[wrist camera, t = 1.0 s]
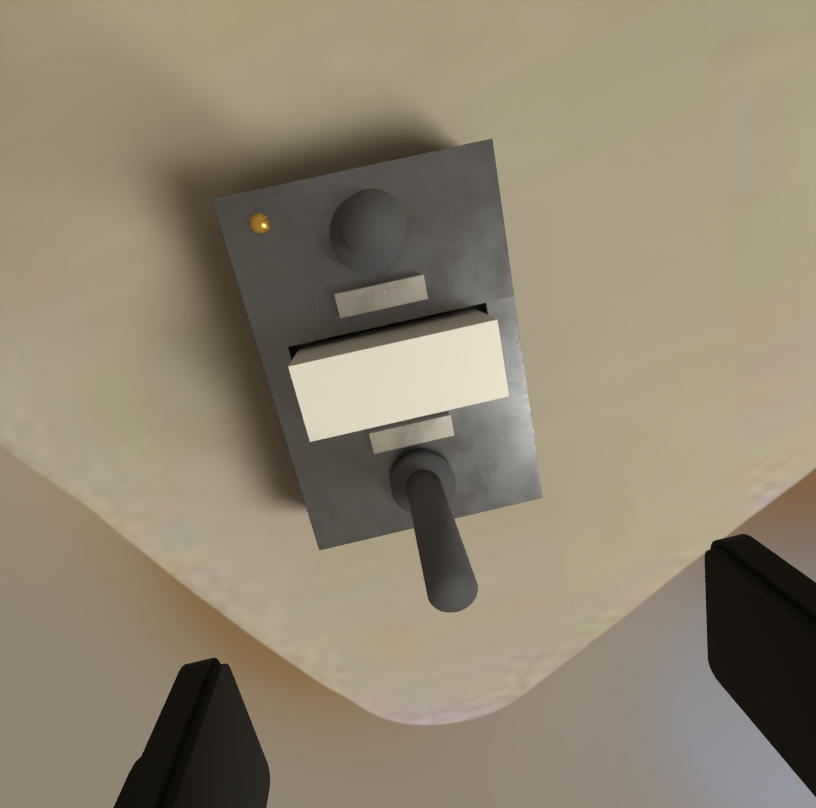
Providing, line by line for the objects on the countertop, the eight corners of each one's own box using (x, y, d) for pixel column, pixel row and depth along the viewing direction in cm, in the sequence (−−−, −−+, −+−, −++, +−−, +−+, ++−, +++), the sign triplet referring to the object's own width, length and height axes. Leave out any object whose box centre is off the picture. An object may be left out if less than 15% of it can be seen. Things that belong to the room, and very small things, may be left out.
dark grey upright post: (322, 203, 32) (298, 171, 19) (395, 187, 32) (419, 145, 19) (340, 279, 33) (329, 296, 21) (410, 263, 33) (442, 271, 21)
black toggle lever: (383, 457, 37) (396, 562, 25) (446, 443, 37) (491, 540, 25) (397, 513, 39) (416, 639, 26) (457, 499, 39) (505, 617, 26)
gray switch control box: (234, 207, 37) (207, 197, 30) (471, 155, 37) (495, 136, 31) (324, 512, 45) (318, 556, 38) (519, 466, 45) (545, 502, 39)
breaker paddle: (300, 345, 37) (288, 366, 30) (472, 307, 37) (497, 319, 30) (318, 408, 38) (309, 442, 32) (483, 371, 39) (509, 396, 32)
